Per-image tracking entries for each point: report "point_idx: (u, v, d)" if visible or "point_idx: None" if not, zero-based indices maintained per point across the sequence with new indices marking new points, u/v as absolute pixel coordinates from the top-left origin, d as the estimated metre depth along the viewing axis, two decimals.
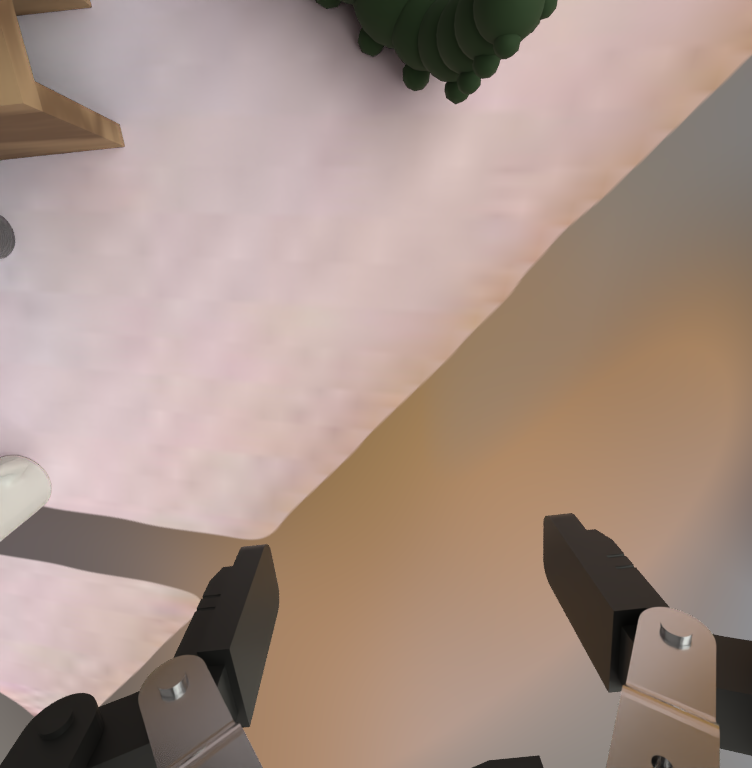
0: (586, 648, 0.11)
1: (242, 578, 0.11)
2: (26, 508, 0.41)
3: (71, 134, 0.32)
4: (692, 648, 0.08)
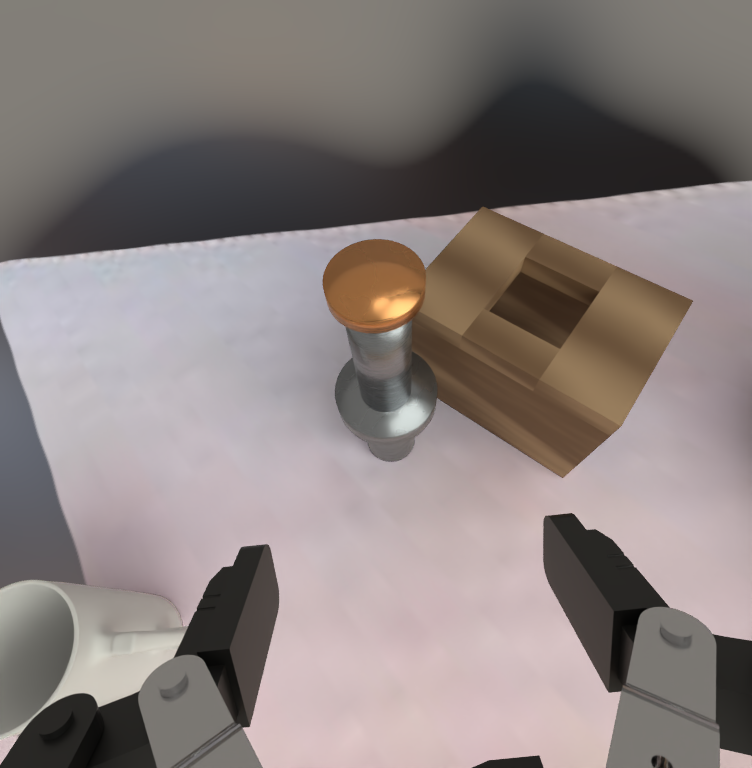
0: (586, 648, 0.11)
1: (242, 578, 0.11)
2: (128, 694, 0.27)
3: (563, 449, 0.32)
4: (692, 648, 0.08)
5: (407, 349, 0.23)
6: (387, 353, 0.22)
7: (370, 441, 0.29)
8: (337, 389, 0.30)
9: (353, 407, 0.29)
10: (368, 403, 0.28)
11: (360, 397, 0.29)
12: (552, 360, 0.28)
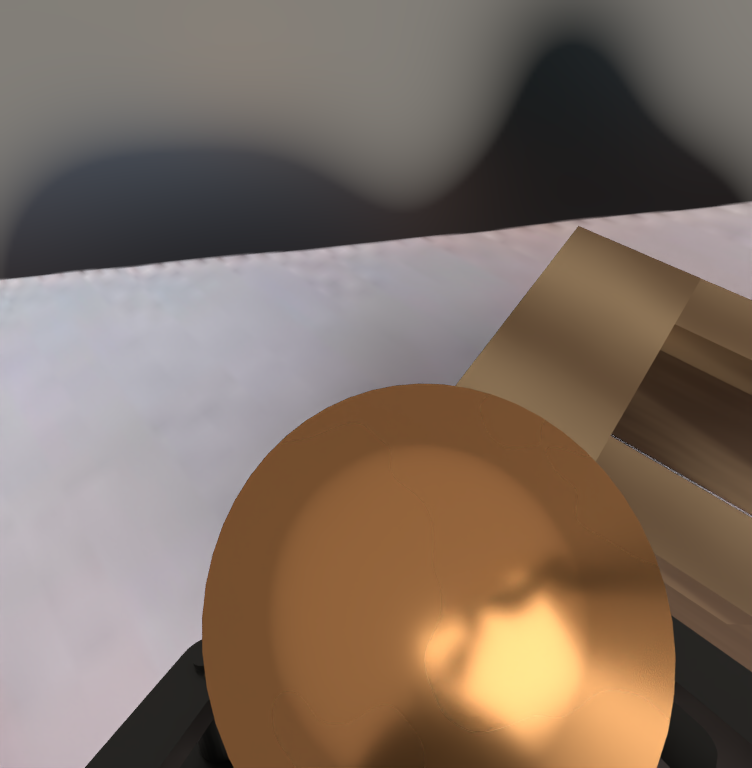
0: None
1: None
2: None
3: None
4: None
5: None
6: None
7: None
8: None
9: None
10: None
11: None
12: None
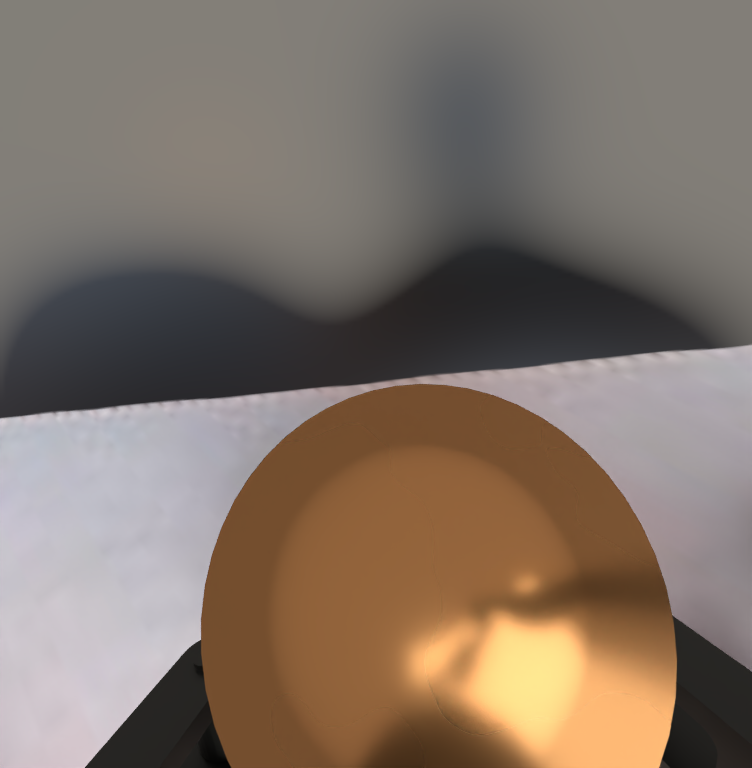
0: None
1: None
2: None
3: None
4: None
5: None
6: None
7: None
8: None
9: None
10: None
11: None
12: None
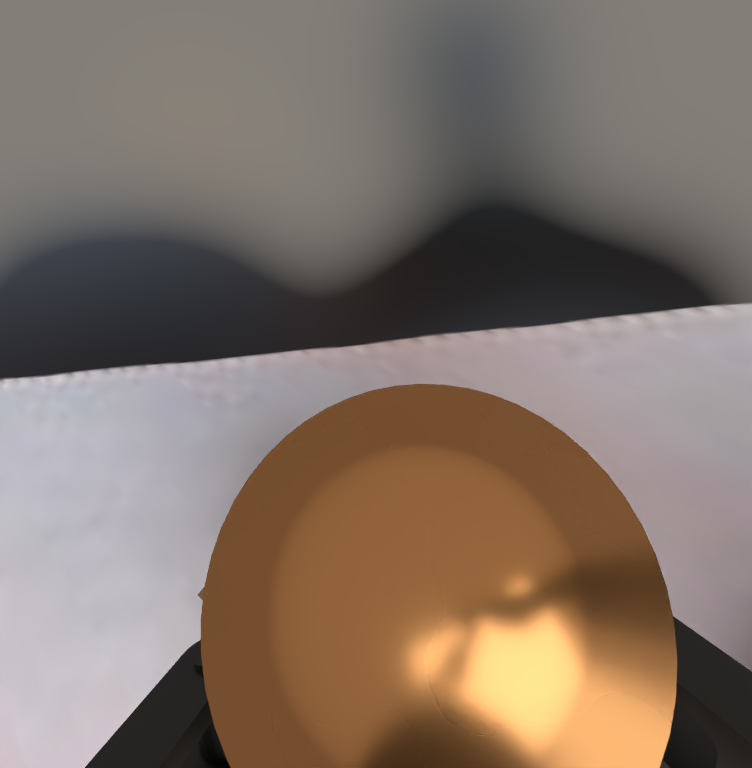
0: None
1: None
2: None
3: None
4: None
5: None
6: None
7: None
8: None
9: None
10: None
11: None
12: None
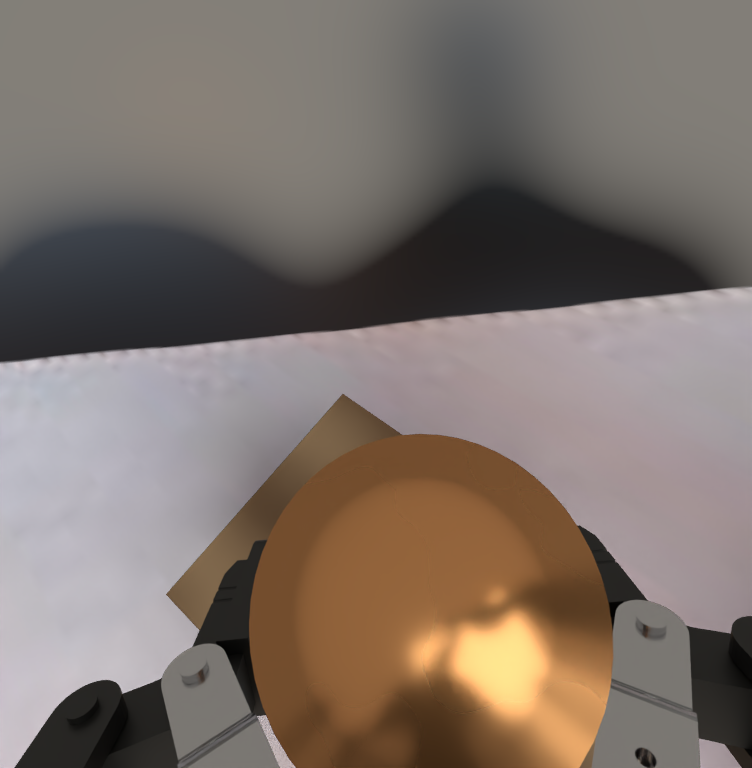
0: None
1: None
2: None
3: None
4: (666, 639, 0.08)
5: None
6: None
7: None
8: None
9: None
10: None
11: None
12: None
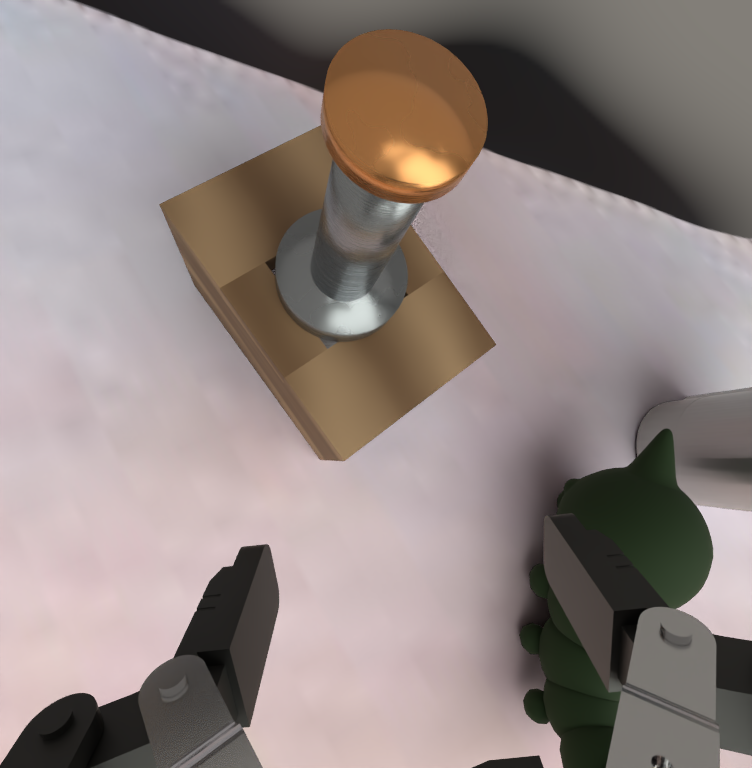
0: (586, 648, 0.11)
1: (242, 578, 0.11)
2: None
3: (315, 442, 0.29)
4: (692, 648, 0.08)
5: (401, 235, 0.17)
6: (375, 230, 0.15)
7: (302, 327, 0.23)
8: (282, 246, 0.22)
9: (296, 277, 0.22)
10: (317, 281, 0.22)
11: (308, 268, 0.22)
12: (312, 359, 0.23)
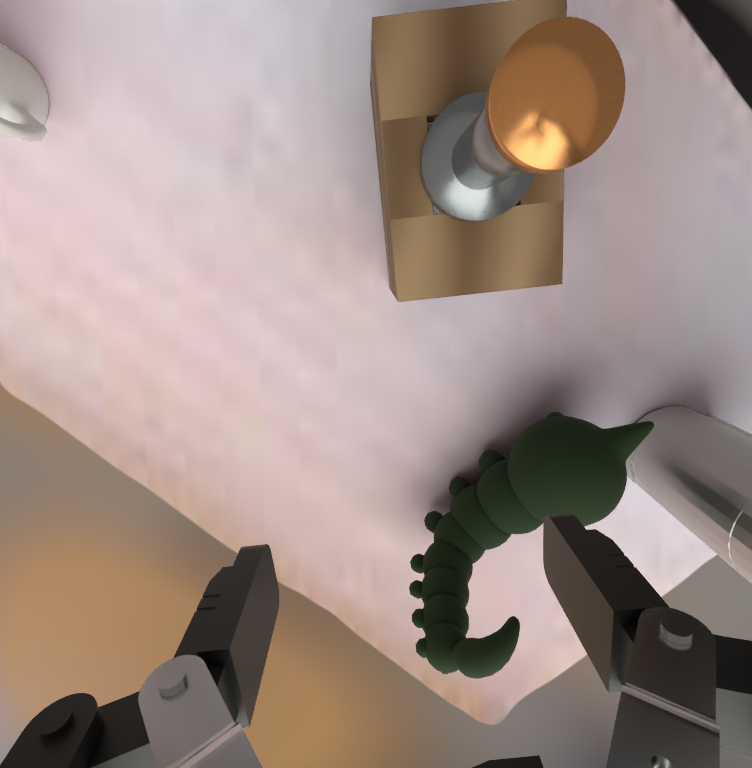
0: (586, 648, 0.11)
1: (242, 578, 0.11)
2: None
3: (390, 274, 0.35)
4: (692, 648, 0.08)
5: (519, 171, 0.20)
6: (498, 162, 0.19)
7: (424, 187, 0.27)
8: (444, 112, 0.25)
9: (440, 146, 0.26)
10: (453, 158, 0.25)
11: (454, 143, 0.26)
12: (417, 216, 0.28)
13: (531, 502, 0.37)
